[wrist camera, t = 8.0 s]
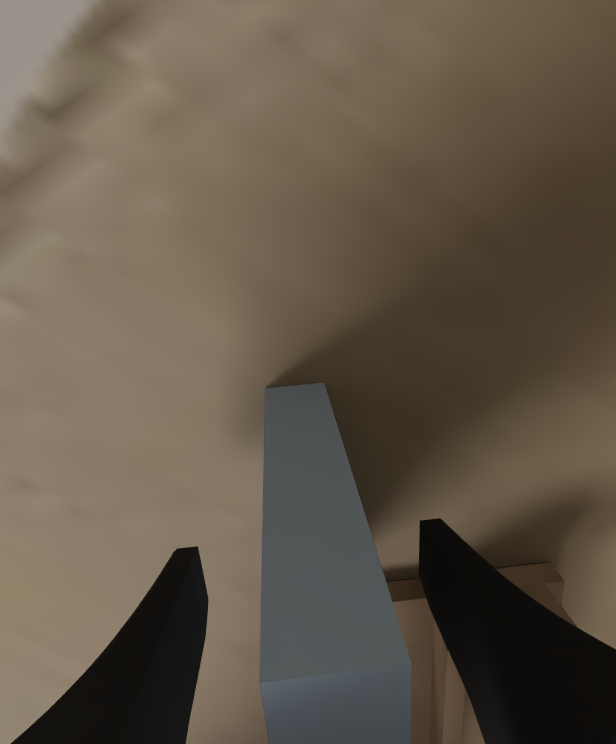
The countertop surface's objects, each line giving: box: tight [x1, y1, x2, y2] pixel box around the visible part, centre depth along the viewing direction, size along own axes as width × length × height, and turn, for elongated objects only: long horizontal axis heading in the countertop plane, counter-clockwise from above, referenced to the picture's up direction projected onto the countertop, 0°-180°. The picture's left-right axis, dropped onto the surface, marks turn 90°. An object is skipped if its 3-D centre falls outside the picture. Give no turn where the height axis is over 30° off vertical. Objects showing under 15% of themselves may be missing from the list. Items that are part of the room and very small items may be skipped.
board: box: [260, 382, 412, 744], centre depth 12 cm, size 2×8×10 cm, turn 4°
